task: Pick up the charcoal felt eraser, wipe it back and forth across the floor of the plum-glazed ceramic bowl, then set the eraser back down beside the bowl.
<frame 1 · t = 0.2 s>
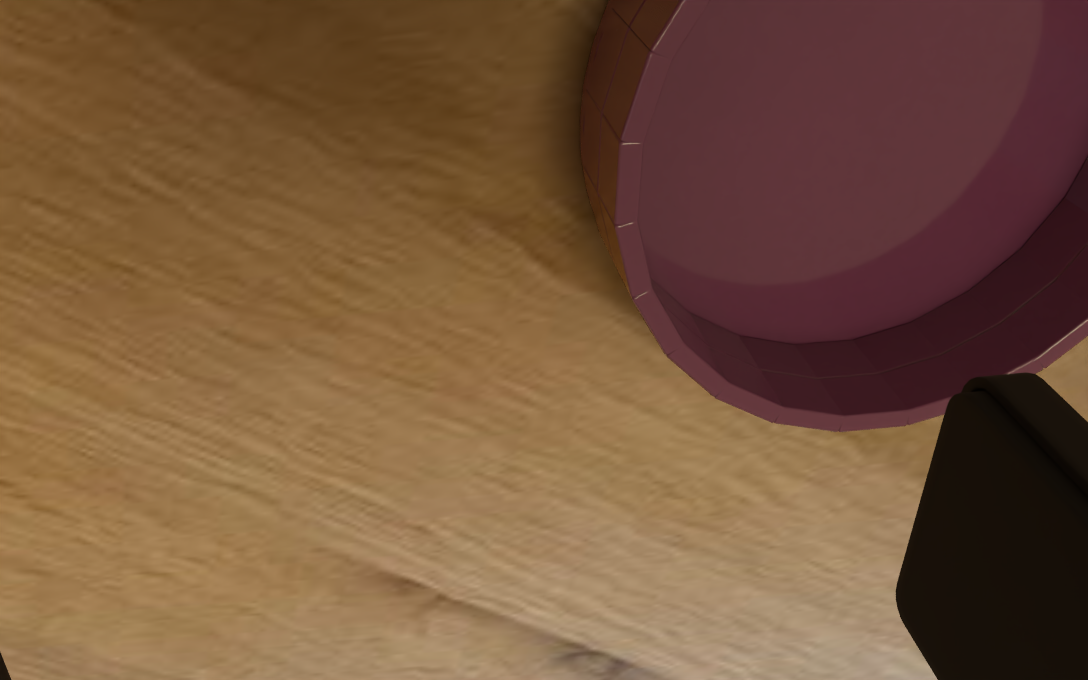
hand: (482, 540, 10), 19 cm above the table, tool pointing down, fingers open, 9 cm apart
bowl: (858, 107, 29), on the table
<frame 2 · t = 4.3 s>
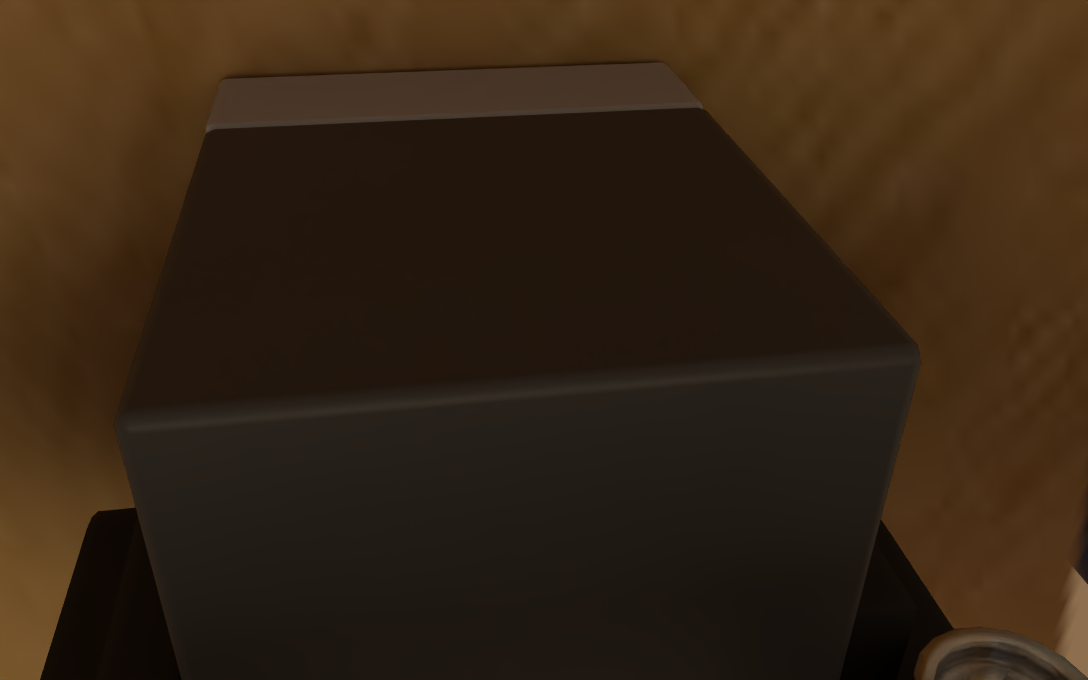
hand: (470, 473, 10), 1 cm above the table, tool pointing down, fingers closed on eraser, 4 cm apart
eraser: (463, 426, 11), on the table, touching gripper
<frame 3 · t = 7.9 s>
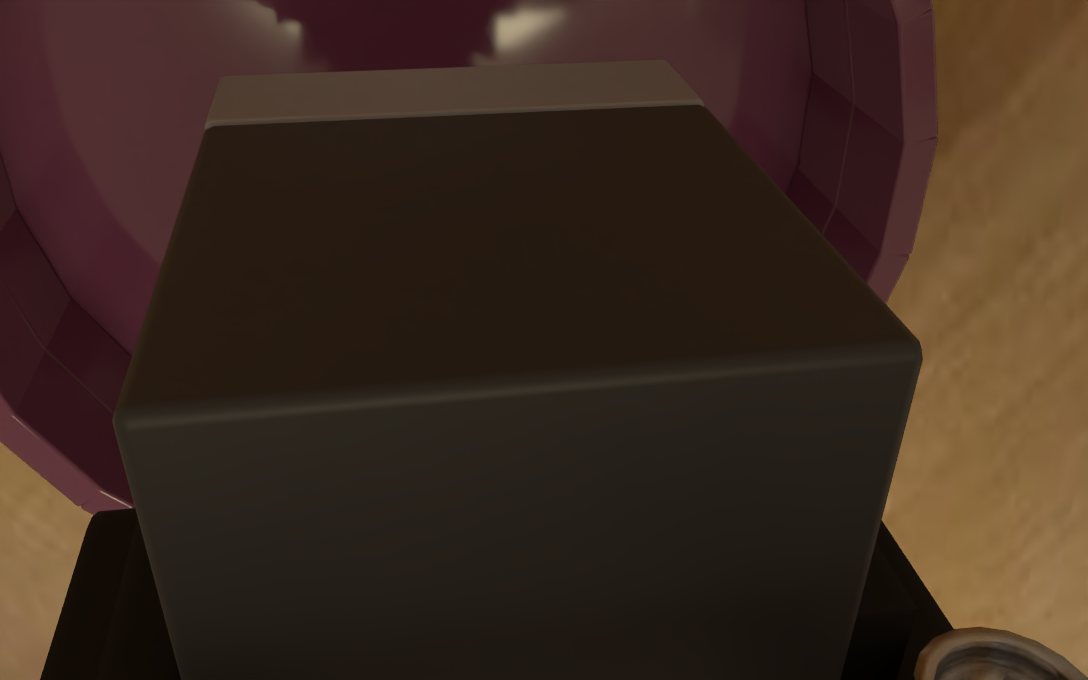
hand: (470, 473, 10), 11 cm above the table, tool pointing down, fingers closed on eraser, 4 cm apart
bowl: (423, 126, 19), on the table
eraser: (463, 425, 11), point 10 cm above the table, touching gripper
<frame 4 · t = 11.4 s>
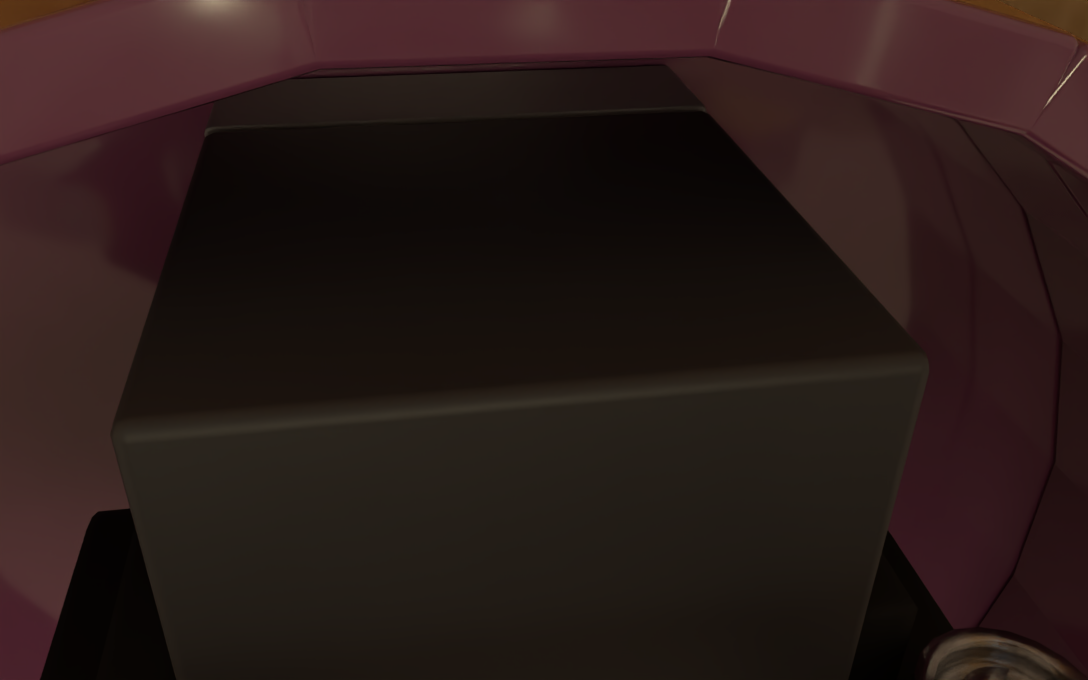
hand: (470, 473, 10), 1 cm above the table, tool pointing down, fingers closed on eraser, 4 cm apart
bowl: (465, 546, 13), on the table
eraser: (464, 431, 11), point 1 cm above the table, touching gripper
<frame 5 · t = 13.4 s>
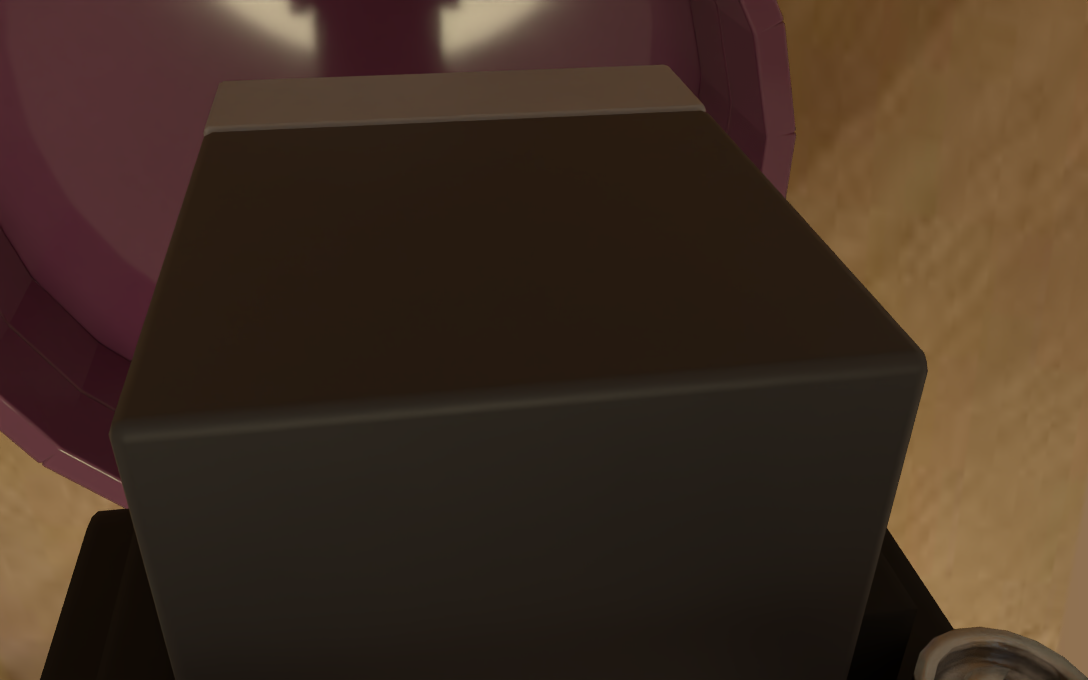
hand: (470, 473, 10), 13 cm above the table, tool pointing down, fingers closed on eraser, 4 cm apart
bowl: (353, 123, 22), on the table
eraser: (463, 430, 11), point 12 cm above the table, touching gripper
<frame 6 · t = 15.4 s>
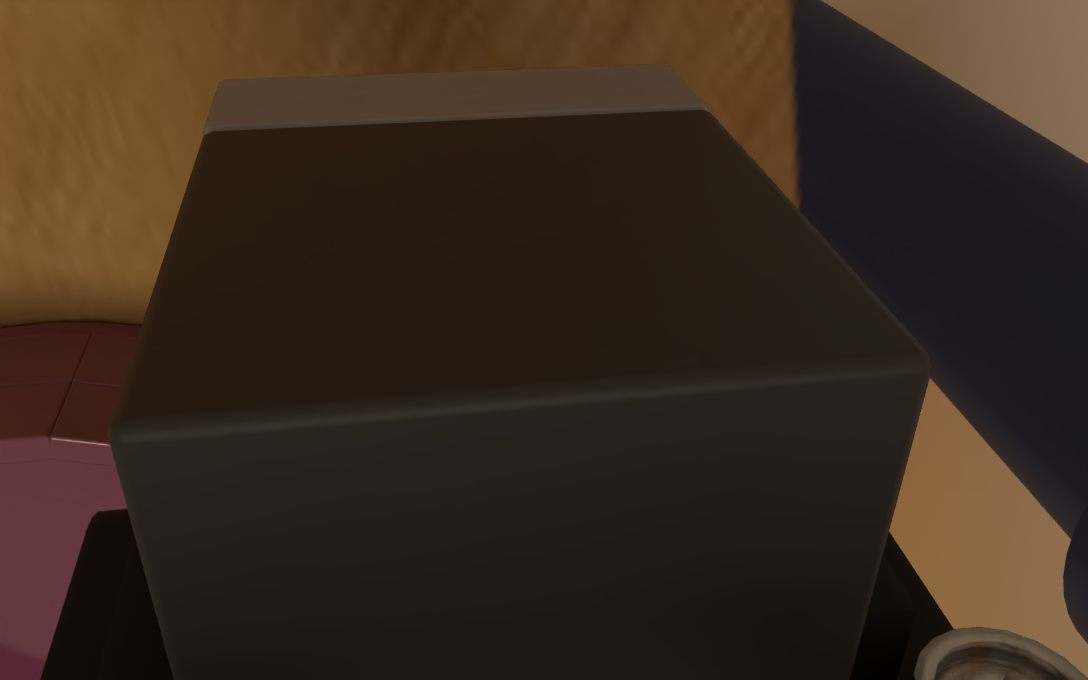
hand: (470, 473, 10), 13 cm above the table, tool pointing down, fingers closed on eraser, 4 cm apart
bowl: (120, 577, 27), on the table
eraser: (464, 430, 11), point 12 cm above the table, touching gripper
when the fingers open (1 cm above the table, at t = 18.6 s): eraser stays where it is, on the table.
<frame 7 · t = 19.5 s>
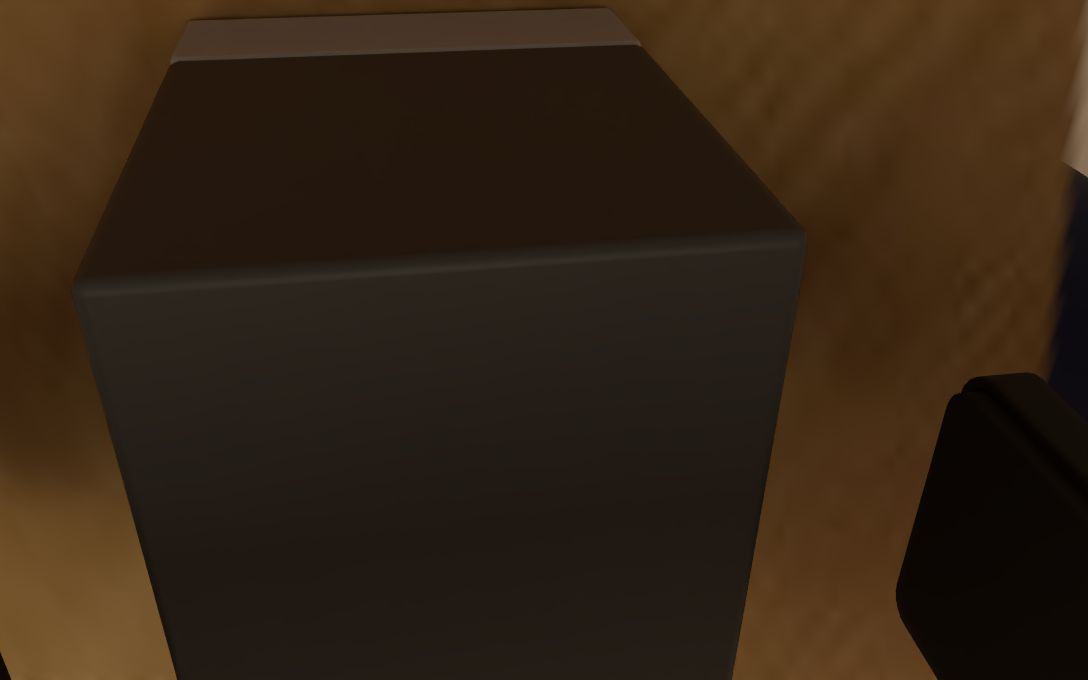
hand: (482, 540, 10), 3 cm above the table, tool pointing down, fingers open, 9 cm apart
eraser: (425, 364, 12), on the table
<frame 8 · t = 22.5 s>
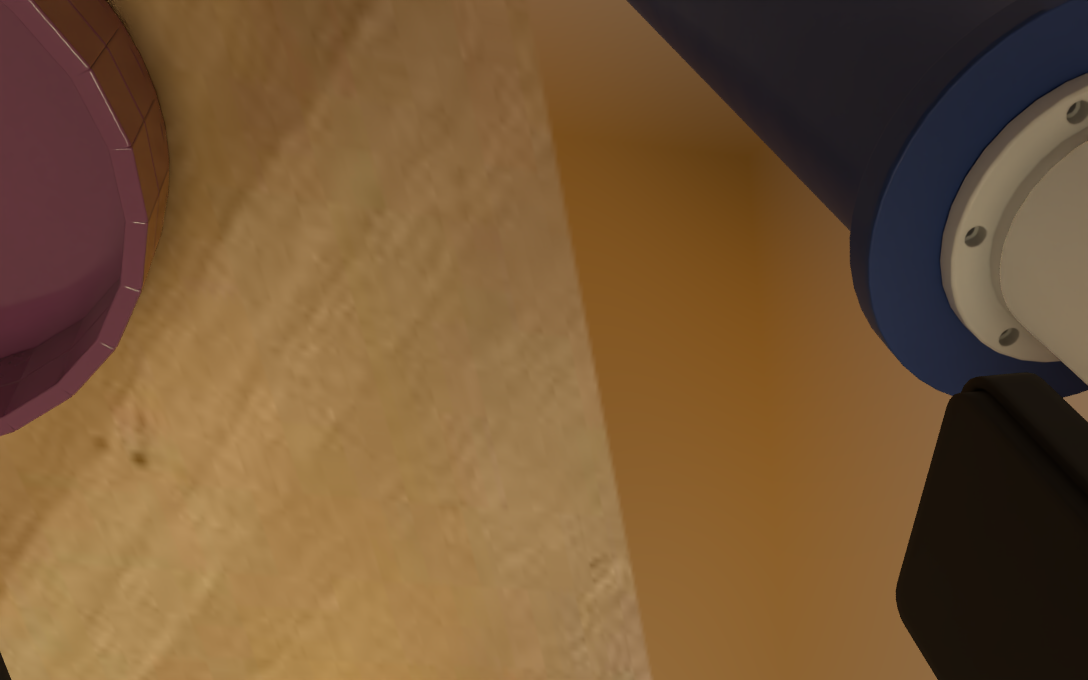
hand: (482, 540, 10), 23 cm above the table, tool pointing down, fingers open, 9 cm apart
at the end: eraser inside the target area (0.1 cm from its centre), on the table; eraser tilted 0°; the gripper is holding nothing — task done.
